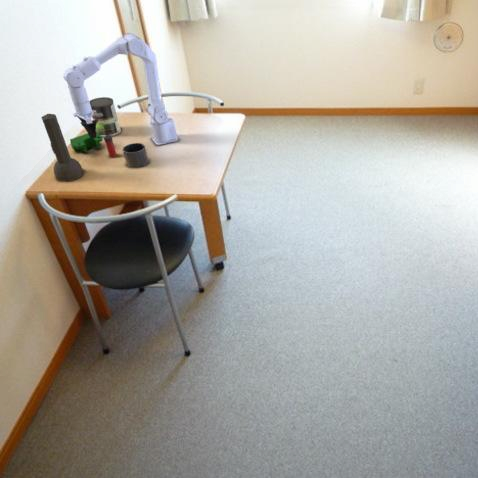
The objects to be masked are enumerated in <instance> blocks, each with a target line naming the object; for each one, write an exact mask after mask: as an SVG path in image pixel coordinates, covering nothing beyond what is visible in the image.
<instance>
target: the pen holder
mask: <svg viewBox="0 0 478 478" xmlns="http://www.w3.org/2000/svg"><path fill="white" fill-rule="evenodd" d="M122 153H123V155H124V160H125V163H126V166H127V167H129V168H132V169H133V168H134V169H135V168H141V167H144V166H147V164H148V163H149V156H148V152H147V148H146V145H145V144H144V143H141V142H132V143H128V144H127V145H124V146H123V148H122Z"/></svg>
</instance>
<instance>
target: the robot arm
mask: <svg viewBox="0 0 478 478" xmlns="http://www.w3.org/2000/svg"><path fill="white" fill-rule="evenodd" d="M129 53H130V54H131V55H132V56H134V57H137V58H140V59H141V60H142V63H143V70H144V76H145V83H146V89H147V96H148V99H147V106H146V112H147V114H148V115H149V116H150V120H149V122H150V126H151V131H152V136H153V137H151V139H152V141H153V142H154V144H155V145H156V146H161V145H165V144H169V143H173V142H178V141H179V137H178V133H177V128H176V123H175V121H174V119H173V118H172V117H170V118H169V113H168V111H167V109H166V106H165V104H164V101H163V97H162V92H161V91H162V90H161V84H160V83H161V82H160V77H159V70H158V61H157V56H156V53H155V52H154V51H153V50H152V48H150V46H149V45H148V44H147V43H146V42H145V41H144V40H143V39H142V38H140V37H139V36H137V35H136V34H134V33H131V32H126V33H124V34H123V35H122V36H120V37H119V36H118V38H117V39H116V40H114V41H112V43H111V44H110V45H108V46H107V47H105V48H104V49H102V51H100V52H98V53H97V55H95V56H92V55H91V56H87V57H86V56H83V57H82V60H81V61H79V62H78V63H77V64H73V65H71V67H68V68H67V69H65V70H64V72H63V79H64V81H65V82H66V83H67V88H68V91H69V95H70V98H71V101H72V104H73V107H74V110H75V112H74V113H73V117H75V118H76V117H77V118H78V119H79V121H80V124H81V126H82V127H83V128H84V129H85V131H86V132H87V133H88V135H89V136H90V138H91V139H92V138H96V124H97V121H96V120H93V118H92V115H93V110H92V108H91V105H90V102H89V101H90V99H89V96H88V95H89V94H88V92H87V89H86V87H85V81H86V80H88V79H89V78H90V77H92V76H93V75H95V74H97V73H98V72H99V71H100V70H101V66H102V65H103V64H105V63H106V62H108V61H110V60H112V59H113V58H115V57H117V56H118V55H124V56H129ZM87 133H86V134H87Z"/></svg>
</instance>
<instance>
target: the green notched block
mask: <svg viewBox="0 0 478 478" xmlns="http://www.w3.org/2000/svg"><path fill="white" fill-rule="evenodd" d="M103 140H104V138H103V137H102V136H101V135H100V134H99V133H98V132H97V131H96V138H92V139H91V138H90V136H89V135H88V133H85V134H81V135H79V136H76V137H73V138H70V139H69V142H70V146H71V149H72V150H73V151H74V152H75V153H79V152H81V151H83V152H84V153H85V154H86V155H87V154H88V149H90V148H95V149H97V150H99V148H100V147H99V144H100V143H102V142H103Z"/></svg>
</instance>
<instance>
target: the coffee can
mask: <svg viewBox="0 0 478 478" xmlns="http://www.w3.org/2000/svg"><path fill="white" fill-rule="evenodd" d="M89 102H90V105H91V108H92V110H93V115H92V118H91V119H92V121H93V120H96V121H97V124H96V131H97V132H98V133H99V134H100V135H101V136H102V138H104V136H107V135H111V136H112V137H113V136H117V135H118V134H120V133H121V131H122V129H121V126H120V125H121V124H120V122H119V118H118V115H117V110H116V106H115V102H114V99H113V98H112V97H108V96H107V97H106V96H102V97H96V98H92V99H89Z"/></svg>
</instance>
